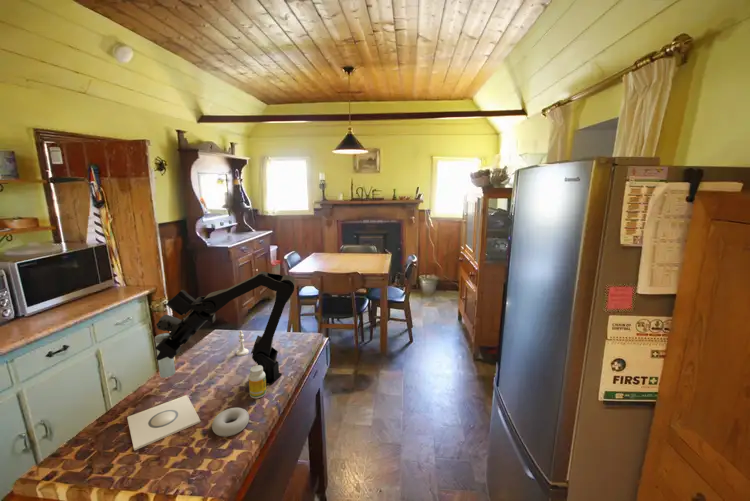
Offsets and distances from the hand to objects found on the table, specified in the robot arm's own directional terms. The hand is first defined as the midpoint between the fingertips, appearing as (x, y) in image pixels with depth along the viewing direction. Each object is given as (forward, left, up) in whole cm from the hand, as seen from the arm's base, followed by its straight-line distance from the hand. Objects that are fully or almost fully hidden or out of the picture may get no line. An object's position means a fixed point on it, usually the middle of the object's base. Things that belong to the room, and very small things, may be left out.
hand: (160, 355), depth 110 cm
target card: (-14, +12, -12) cm, 22 cm away
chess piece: (-9, -28, -12) cm, 32 cm away
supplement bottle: (-33, -7, -12) cm, 36 cm away
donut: (-35, +8, -12) cm, 38 cm away
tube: (-1, -1, -7) cm, 7 cm away
